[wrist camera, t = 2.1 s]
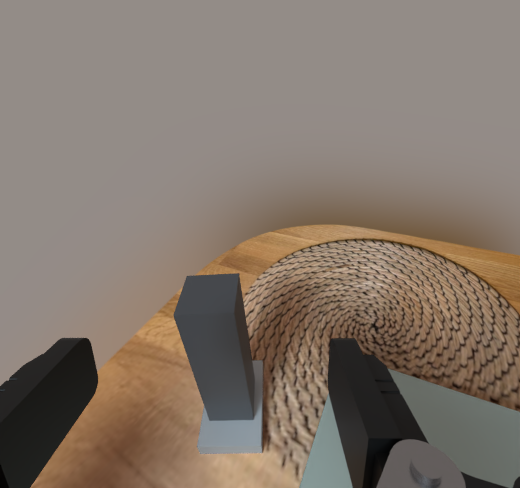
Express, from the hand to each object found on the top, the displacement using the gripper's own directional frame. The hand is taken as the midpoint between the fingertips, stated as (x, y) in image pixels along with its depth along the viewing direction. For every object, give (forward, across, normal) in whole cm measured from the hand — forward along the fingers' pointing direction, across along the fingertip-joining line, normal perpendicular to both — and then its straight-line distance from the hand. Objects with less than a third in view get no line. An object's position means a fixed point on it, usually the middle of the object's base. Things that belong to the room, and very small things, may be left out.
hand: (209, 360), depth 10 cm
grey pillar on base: (+17, +2, +20) cm, 26 cm away
